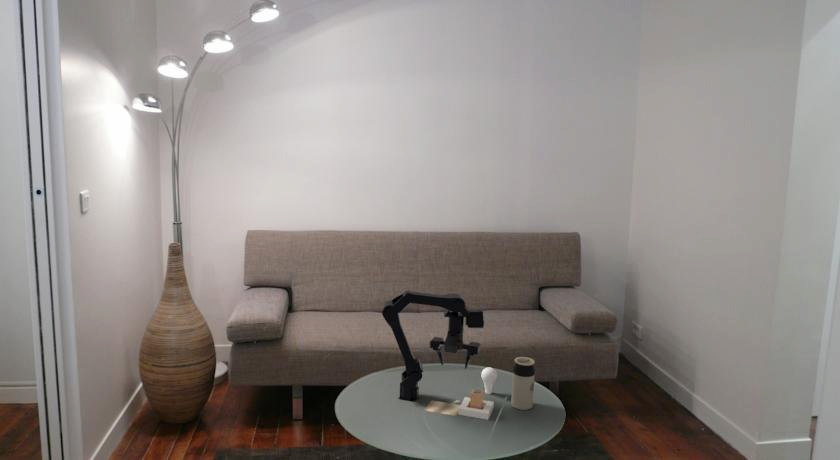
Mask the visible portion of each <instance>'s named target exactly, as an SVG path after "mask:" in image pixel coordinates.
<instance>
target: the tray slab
mask: <svg viewBox="0 0 840 460" xmlns="http://www.w3.org/2000/svg"><path fill="white" fill-rule="evenodd" d="M460 405H461V404H456V403H449V402H444V401H438V400H433V399H431V400H430V401H429V403H428V404H427V406H426V407H425V408H424V410H423V411H426V412H432V413H437V414H442V415H446V416H447V415H448V416H453V417H457V415H458V410H459V407H460Z"/></svg>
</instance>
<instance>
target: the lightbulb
mask: <svg viewBox="0 0 840 460" xmlns="http://www.w3.org/2000/svg"><path fill="white" fill-rule="evenodd" d="M480 376H481V379H482V382H483V385H484V393H485V394H487V395H491V394H492V392H493V391H492V390H493V386H494V383H495V381H496V380H497V378H498V373H497V371H496V369H495V368H492V367H491V366H490V367H485V368H483V369H482V371H481V374H480Z"/></svg>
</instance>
